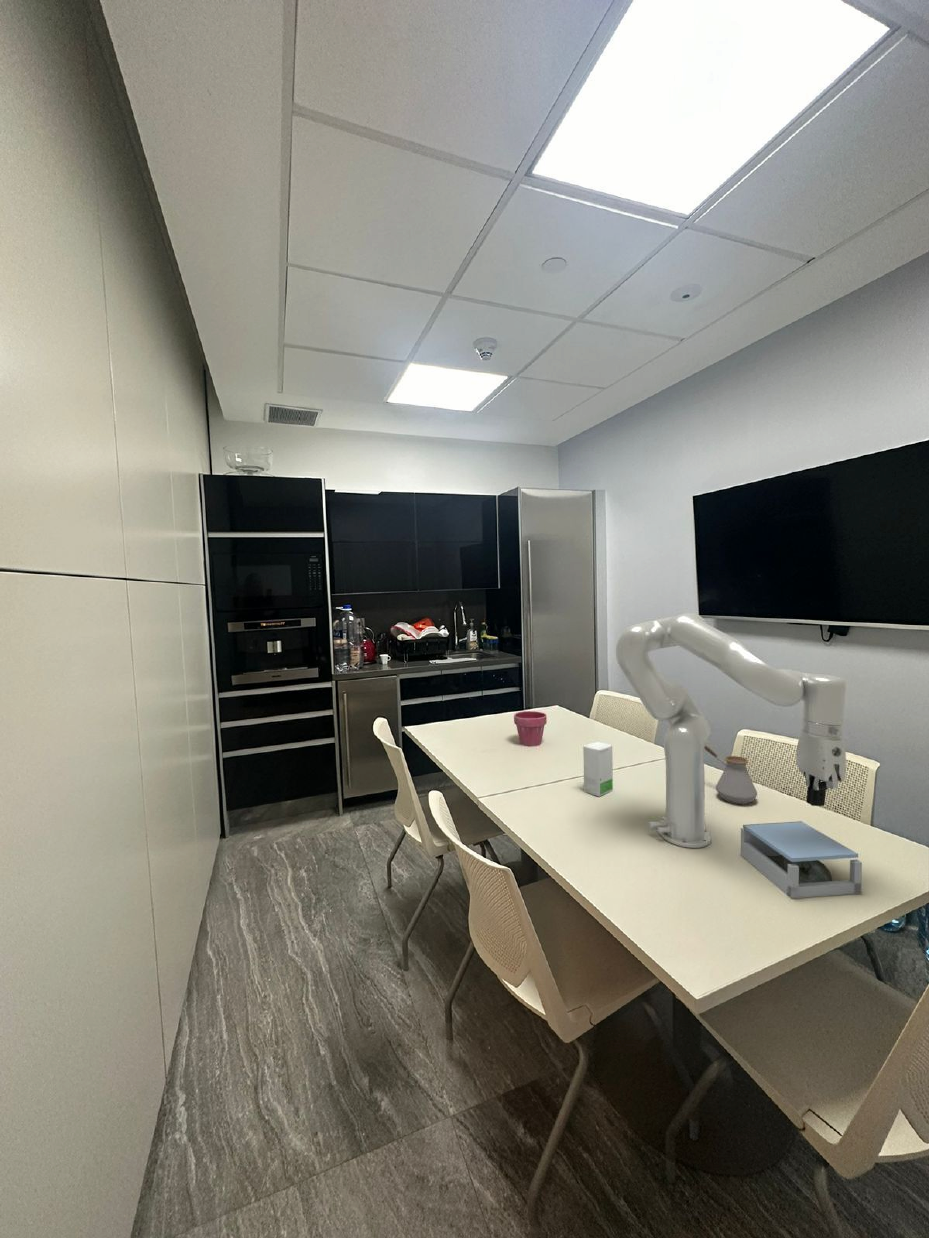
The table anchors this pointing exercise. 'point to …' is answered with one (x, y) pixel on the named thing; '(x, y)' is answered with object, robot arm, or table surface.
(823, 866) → the lid
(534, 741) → the plant pot
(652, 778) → the table surface
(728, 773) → the coffee pot
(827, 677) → the robot arm
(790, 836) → the cover
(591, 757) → the skincare box
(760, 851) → the low-walled grey tray
